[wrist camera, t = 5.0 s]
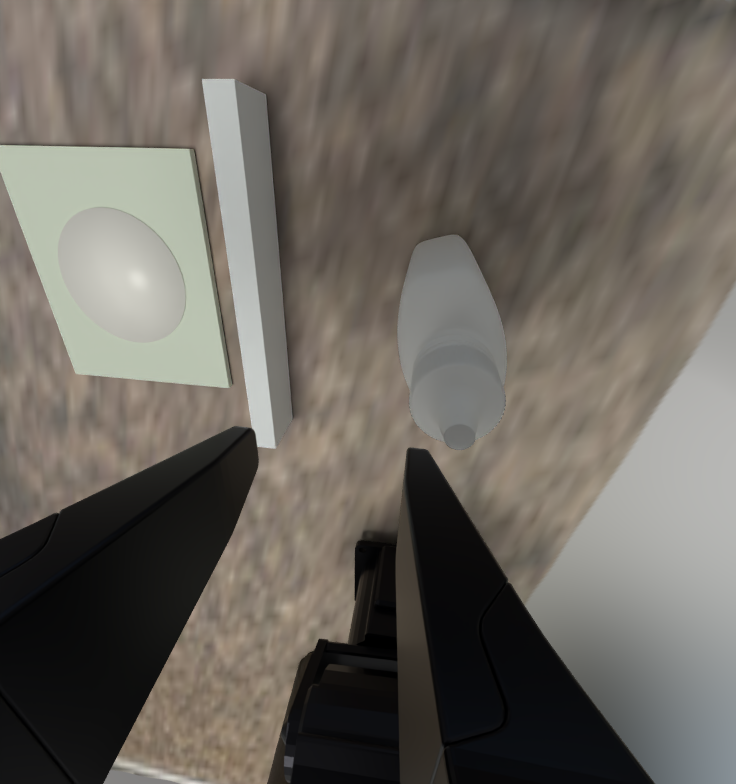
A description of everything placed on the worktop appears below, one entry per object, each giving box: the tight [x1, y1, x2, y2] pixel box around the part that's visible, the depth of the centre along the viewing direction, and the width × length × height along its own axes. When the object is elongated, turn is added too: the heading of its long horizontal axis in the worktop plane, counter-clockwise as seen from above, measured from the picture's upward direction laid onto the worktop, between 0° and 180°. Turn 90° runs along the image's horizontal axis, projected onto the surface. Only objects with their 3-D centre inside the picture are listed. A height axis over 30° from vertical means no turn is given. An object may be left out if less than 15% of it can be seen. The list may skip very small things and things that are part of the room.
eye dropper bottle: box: [397, 235, 507, 450], centre depth 14 cm, size 4×6×12 cm
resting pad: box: [0, 145, 232, 388], centre depth 21 cm, size 12×10×1 cm
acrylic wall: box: [202, 79, 293, 449], centre depth 19 cm, size 16×1×3 cm, turn 179°
